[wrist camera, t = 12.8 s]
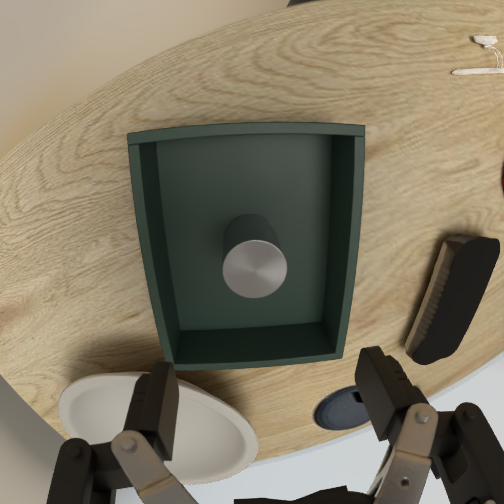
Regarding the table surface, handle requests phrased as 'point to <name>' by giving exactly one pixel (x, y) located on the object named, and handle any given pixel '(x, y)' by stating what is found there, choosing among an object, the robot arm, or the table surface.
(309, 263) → the bin
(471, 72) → the picture light
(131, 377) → the soup bowl
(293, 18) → the table surface
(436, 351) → the bristle scrub brush
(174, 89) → the table surface
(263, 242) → the metal cylinder
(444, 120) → the table surface
